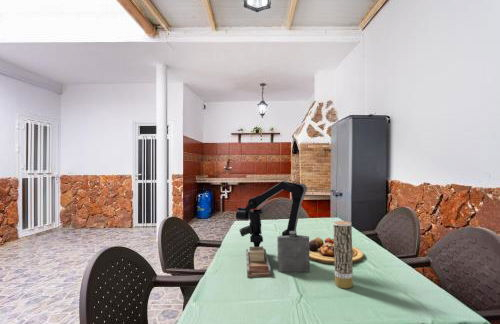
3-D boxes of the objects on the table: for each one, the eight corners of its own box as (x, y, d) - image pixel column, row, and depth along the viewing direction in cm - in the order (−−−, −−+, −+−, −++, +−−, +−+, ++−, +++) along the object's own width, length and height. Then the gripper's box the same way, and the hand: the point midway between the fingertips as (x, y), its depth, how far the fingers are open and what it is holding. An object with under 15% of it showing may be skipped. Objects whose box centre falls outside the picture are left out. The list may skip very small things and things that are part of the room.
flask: (278, 269, 127) (277, 230, 127) (309, 269, 126) (308, 230, 126) (278, 272, 124) (277, 232, 124) (310, 272, 122) (309, 232, 122)
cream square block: (249, 256, 142) (249, 246, 142) (263, 256, 142) (263, 246, 142) (250, 261, 134) (249, 251, 134) (264, 260, 135) (264, 250, 135)
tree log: (338, 280, 114) (337, 220, 114) (355, 284, 110) (353, 222, 110) (332, 286, 109) (330, 223, 109) (349, 290, 105) (347, 225, 105)
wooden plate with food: (370, 268, 127) (370, 250, 127) (300, 263, 134) (300, 246, 134) (357, 248, 158) (357, 233, 158) (302, 245, 165) (301, 231, 165)
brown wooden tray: (246, 254, 149) (246, 247, 149) (265, 253, 149) (265, 246, 149) (247, 277, 119) (247, 268, 119) (271, 276, 119) (270, 268, 119)
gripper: (240, 218, 152) (241, 246, 153) (239, 225, 134) (240, 257, 134) (260, 217, 153) (261, 245, 153) (262, 225, 134) (263, 256, 134)
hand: (256, 250), depth 143 cm, fingers closed
